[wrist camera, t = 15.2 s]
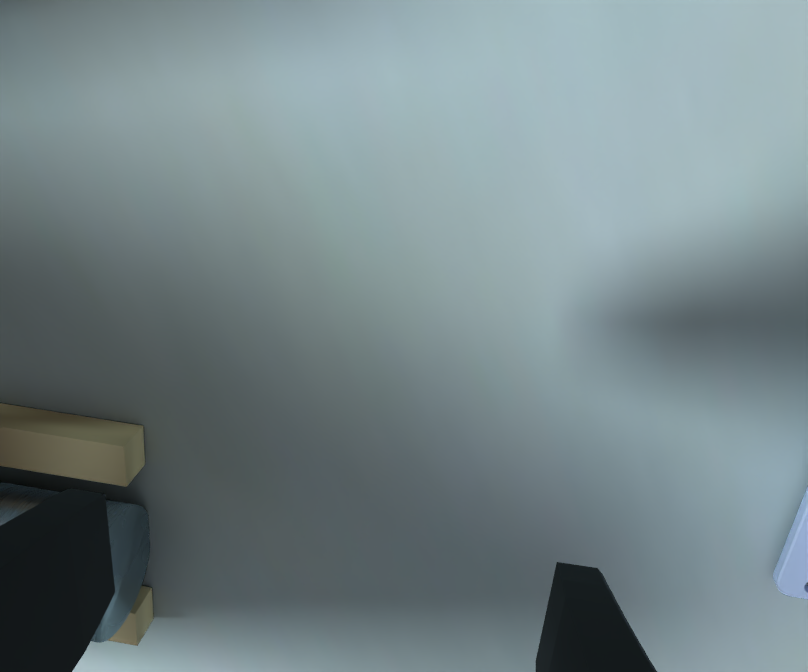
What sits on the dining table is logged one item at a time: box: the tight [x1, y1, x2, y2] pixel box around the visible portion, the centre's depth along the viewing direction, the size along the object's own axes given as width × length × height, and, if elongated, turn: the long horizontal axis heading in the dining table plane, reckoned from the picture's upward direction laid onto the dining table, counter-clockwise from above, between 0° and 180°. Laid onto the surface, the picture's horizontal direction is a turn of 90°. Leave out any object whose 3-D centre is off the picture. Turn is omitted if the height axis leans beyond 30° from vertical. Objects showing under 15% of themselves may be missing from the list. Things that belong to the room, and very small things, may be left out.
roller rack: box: [0, 403, 154, 646], centre depth 23 cm, size 8×8×1 cm
